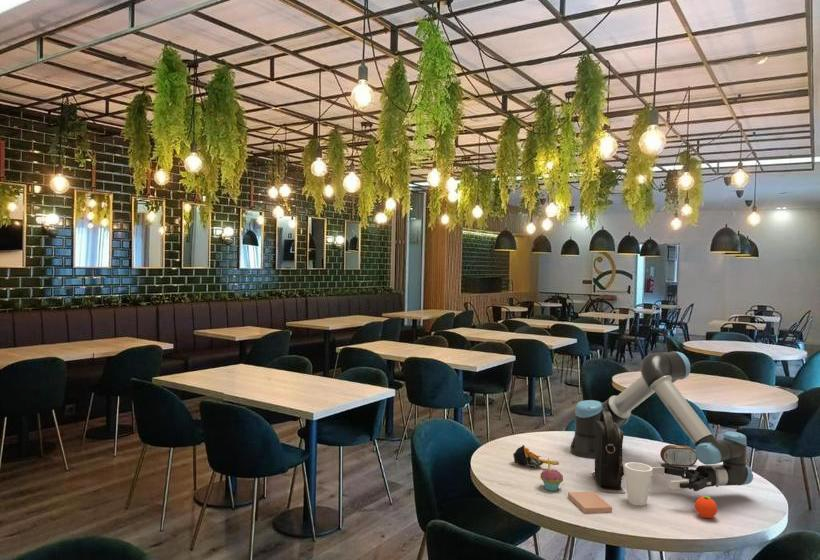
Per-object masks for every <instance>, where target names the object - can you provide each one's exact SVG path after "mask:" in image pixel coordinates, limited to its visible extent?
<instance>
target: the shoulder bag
mask: <svg viewBox="0 0 820 560" xmlns="http://www.w3.org/2000/svg"><path fill="white" fill-rule="evenodd" d="M623 442H624V432H623V431H622V429H621V428H620V427H618V426H617V424H616V423H615V422H613V420H612V415H611V413H610V412H607V411H603V412H601V416H600V421H597V422H596V438H595V458H594V471H595V472H593V473H590V475H591V477H592V479H593V480H594V482H595V484H596V486H597V488H598V490H599V492H606V493H620V494H625V491H624V489H623V488H622V480H623V477H625V476H624V475H625V472H624V463H623Z"/></svg>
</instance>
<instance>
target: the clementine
mask: <svg viewBox="0 0 820 560" xmlns="http://www.w3.org/2000/svg"><path fill="white" fill-rule="evenodd" d="M694 509H695V512H696V514H698V515H699V516H700V517H702V518H703V519H711V518H714V517H715V516H716V515H717V513H718V506H717V503H716V501H715V500H714V499H712V497H711V496H708V495H706V496H701V497H698V498H697V499H696V501H695V503H694Z"/></svg>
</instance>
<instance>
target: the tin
mask: <svg viewBox="0 0 820 560" xmlns="http://www.w3.org/2000/svg"><path fill="white" fill-rule="evenodd" d="M659 456H660V458H661V460H662V461H663V462H664V463H665V464H666V465H672V466H681V467H692V466H694V465H695V464H696V463H697V462H698V459H697V457H696V453H695V449H694V448H693V447H691V446H688V445H677V444H676V445H675V444H668V445H664V446H663V447H662V448H661V450H660V455H659Z"/></svg>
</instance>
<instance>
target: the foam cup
mask: <svg viewBox="0 0 820 560" xmlns="http://www.w3.org/2000/svg"><path fill="white" fill-rule="evenodd" d="M623 467H624V475H625V476H624V479H625V485H626V486H625V487H626V495H627V497H626V498H627V501H628V503H630V504H631V505H634V506H638V505H639V507H641V506H642V505H644V506H646V505H647V502H648V498H649V493H650V487H651V482H652V476H653V475H652V469H653V468H652V466H651V465H648V464H647V463H646V464H645V463H642V462H636V461H635V462H632V461H631V462H625V463H624V464H623ZM642 507H643V506H642Z"/></svg>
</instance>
